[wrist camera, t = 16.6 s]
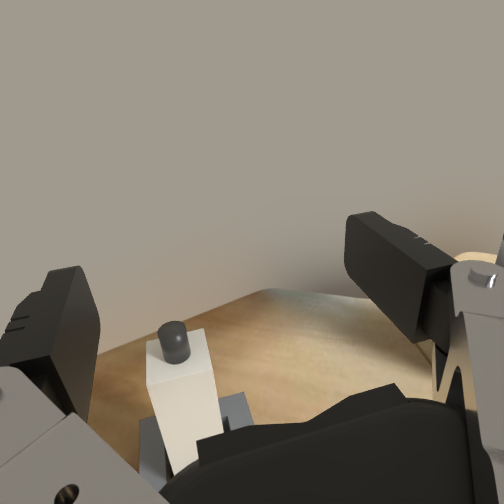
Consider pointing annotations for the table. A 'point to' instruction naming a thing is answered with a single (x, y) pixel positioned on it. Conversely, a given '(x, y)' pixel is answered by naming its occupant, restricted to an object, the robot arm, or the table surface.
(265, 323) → the table surface
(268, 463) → the robot arm
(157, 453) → the socket
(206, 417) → the plug
